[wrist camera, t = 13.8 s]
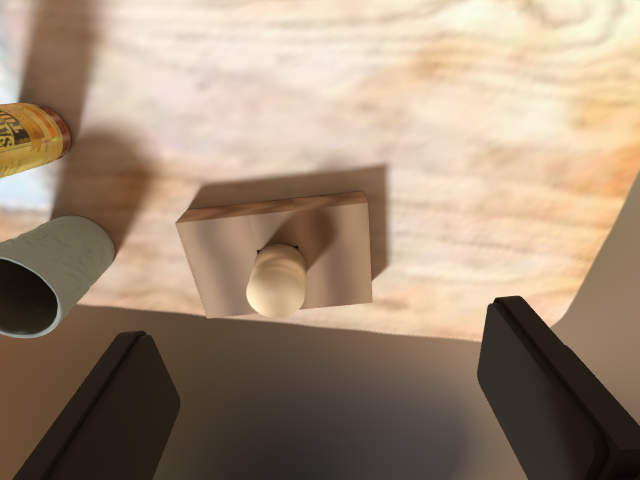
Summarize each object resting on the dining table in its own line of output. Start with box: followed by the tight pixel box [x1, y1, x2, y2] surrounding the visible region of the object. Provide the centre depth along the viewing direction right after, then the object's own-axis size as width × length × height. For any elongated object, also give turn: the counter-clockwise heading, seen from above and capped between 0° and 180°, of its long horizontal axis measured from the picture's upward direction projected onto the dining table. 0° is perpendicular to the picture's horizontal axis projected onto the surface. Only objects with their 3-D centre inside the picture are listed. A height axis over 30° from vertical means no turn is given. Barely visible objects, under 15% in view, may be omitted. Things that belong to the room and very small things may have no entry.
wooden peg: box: [246, 243, 306, 318], centre depth 40 cm, size 6×6×10 cm
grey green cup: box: [0, 215, 115, 338], centre depth 38 cm, size 10×10×12 cm
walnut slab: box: [175, 191, 372, 318], centre depth 43 cm, size 22×14×4 cm, turn 96°
